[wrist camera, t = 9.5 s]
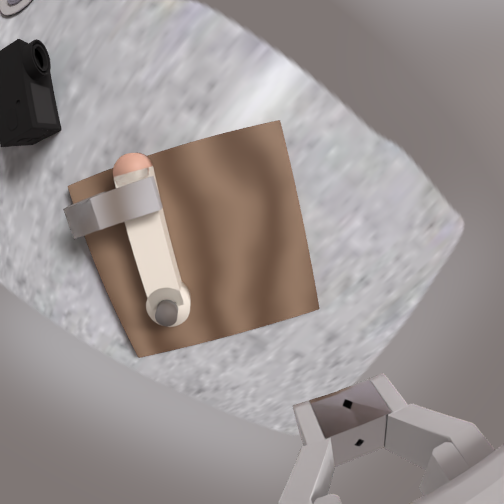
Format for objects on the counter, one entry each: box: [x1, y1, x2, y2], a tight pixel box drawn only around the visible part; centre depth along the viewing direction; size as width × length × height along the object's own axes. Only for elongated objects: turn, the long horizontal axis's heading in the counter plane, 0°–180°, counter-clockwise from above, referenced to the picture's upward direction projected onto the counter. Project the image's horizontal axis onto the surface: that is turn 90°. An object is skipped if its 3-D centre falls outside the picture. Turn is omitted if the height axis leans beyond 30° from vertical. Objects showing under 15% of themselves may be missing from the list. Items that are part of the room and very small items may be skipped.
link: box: [113, 153, 191, 327], centre depth 31 cm, size 18×5×2 cm, turn 10°
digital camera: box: [0, 39, 61, 147], centre depth 23 cm, size 10×5×7 cm, turn 14°
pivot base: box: [64, 120, 319, 358], centre depth 32 cm, size 23×22×6 cm
